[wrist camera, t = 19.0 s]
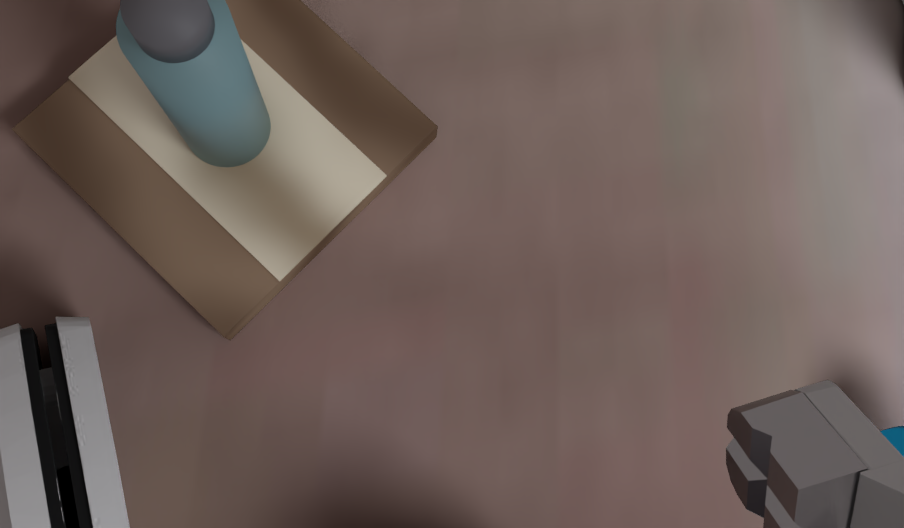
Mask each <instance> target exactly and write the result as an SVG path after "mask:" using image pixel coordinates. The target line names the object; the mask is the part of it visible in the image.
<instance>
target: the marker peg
mask: <svg viewBox="0 0 904 528" xmlns="http://www.w3.org/2000/svg"><path fill="white" fill-rule="evenodd" d="M116 35H117V40H118V43H119V46H120V48H121V50H122V52H123V54H124V55H125V57H126V58H127V60H128V61H129V62H130V64H131V65H132V67H133V68H134V69H135V71H136V72H137V74H138V75H139V77H140V78H141V79H142V81H143V82H144V84H145V85H146V86H147V88H148V89H149V91H150V92H151V94H152V95H153V96H154V98H155V99H156V101H157V102H158V104H159V105H160V106H161V108H162V109H163V111H164V112H165V113H166V115H167V116H168V118H169V119H170V121H171V122H172V123H173V125H174V126H175V128H176V129H177V131H178V132H179V133H180V135H181V136H182V138H183V139H184V140H185V142H186V143H187V145H188V146H189V148H190V149H191V150H192V152H193V153H194V154H195V155H196V156H197V157H198V158H200V159H201V160H202V161H204V162H206V163H208V164H210V165H213V166H218V167H235V166H239V165H242V164H245V163H247V162H249V161H251V160H252V159H254V158H255V157H256V156H257V155H258V154H259V153H260V152H261V151H262V150H263V148H264V147H265V145H266V143H267V141H268V139H269V135H270V129H271V123H270V117H269V114H268V111H267V108H266V105H265V103H264V100H263V98H262V95H261V92H260V90H259V87H258V84H257V82H256V79H255V76H254V74H253V71H252V68H251V66H250V63H249V60H248V58H247V55H246V52H245V50H244V47H243V44H242V42H241V39H240V36H239V34H238V31H237V28H236V26H235V23H234V21H233V18H232V15H231V13H230V10H229V7H228V5H227V3H226V1H225V0H121V2H120V10H119V12H118V16H117V21H116Z"/></svg>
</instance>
